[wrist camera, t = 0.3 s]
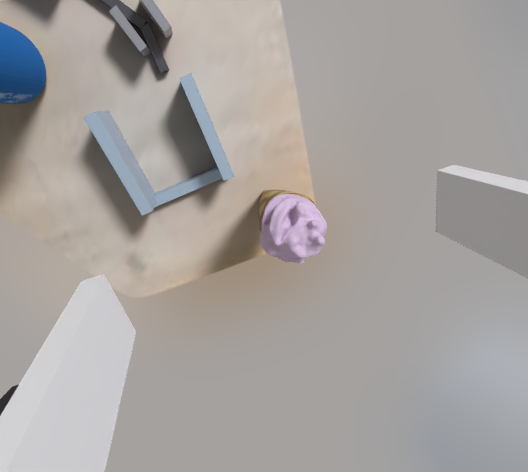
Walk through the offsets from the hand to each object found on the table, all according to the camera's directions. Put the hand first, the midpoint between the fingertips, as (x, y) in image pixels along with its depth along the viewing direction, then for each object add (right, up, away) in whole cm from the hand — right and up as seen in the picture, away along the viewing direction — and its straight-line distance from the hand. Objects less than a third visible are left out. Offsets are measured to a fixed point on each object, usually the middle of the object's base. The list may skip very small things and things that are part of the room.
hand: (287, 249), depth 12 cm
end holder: (-12, +11, +22) cm, 27 cm away
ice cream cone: (-1, +5, +27) cm, 28 cm away
